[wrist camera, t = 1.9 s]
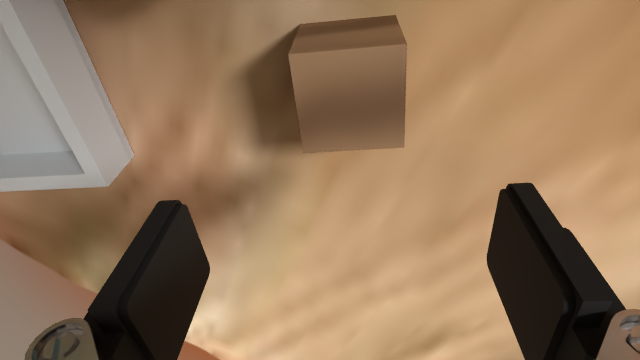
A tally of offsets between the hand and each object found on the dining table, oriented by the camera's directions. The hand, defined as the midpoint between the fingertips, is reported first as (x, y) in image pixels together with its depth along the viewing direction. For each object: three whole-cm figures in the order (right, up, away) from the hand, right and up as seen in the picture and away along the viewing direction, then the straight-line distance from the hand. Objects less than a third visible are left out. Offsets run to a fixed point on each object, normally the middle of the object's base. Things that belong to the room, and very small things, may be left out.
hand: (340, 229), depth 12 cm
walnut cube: (+1, +8, +10) cm, 13 cm away
